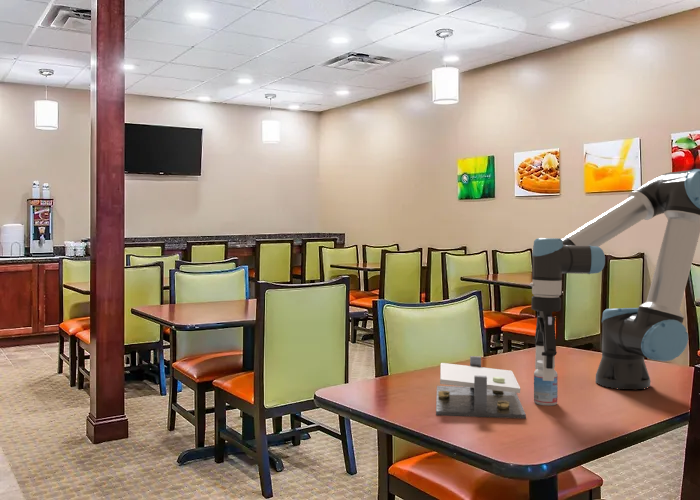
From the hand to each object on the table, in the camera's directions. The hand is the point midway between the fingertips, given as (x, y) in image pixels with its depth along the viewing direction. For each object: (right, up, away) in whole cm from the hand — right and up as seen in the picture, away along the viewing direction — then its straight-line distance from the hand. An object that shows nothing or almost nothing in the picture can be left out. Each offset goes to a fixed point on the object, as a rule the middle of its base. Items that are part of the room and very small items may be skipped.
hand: (544, 374), depth 172 cm
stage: (-18, -1, +1) cm, 18 cm away
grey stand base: (-18, -8, +1) cm, 19 cm away
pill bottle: (0, -8, 0) cm, 8 cm away
